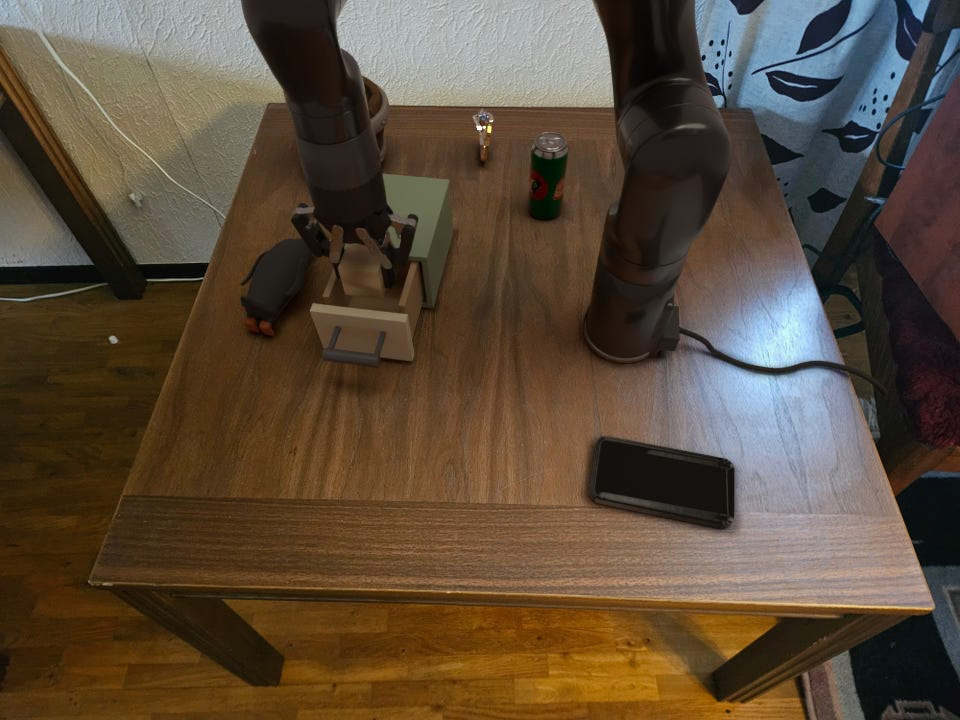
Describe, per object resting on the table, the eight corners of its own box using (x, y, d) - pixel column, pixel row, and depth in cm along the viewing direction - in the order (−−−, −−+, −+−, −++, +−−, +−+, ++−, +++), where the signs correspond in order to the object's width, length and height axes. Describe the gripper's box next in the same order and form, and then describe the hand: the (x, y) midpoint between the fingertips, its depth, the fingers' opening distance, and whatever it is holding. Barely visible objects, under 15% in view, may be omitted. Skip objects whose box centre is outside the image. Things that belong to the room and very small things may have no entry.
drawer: (404, 393, 76) (395, 355, 69) (312, 381, 77) (296, 343, 71) (434, 281, 86) (429, 238, 80) (353, 272, 87) (342, 230, 81)
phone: (734, 527, 65) (588, 497, 67) (731, 531, 66) (587, 501, 68) (734, 459, 70) (597, 433, 72) (731, 463, 71) (596, 437, 73)
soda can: (559, 223, 93) (567, 155, 84) (525, 219, 94) (529, 150, 84) (563, 200, 96) (571, 132, 86) (530, 196, 97) (534, 128, 87)
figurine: (293, 349, 84) (336, 257, 90) (265, 312, 75) (314, 213, 81) (244, 337, 85) (289, 247, 91) (210, 299, 76) (263, 202, 82)
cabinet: (433, 308, 84) (427, 257, 77) (342, 298, 86) (326, 247, 78) (453, 232, 93) (449, 179, 85) (369, 224, 94) (358, 171, 86)
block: (392, 270, 77) (387, 243, 73) (383, 299, 74) (377, 272, 71) (355, 266, 78) (348, 239, 74) (345, 295, 75) (337, 268, 71)
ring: (474, 144, 105) (473, 100, 98) (494, 144, 105) (494, 100, 98) (472, 171, 101) (471, 127, 94) (493, 171, 101) (492, 127, 94)
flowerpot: (291, 152, 104) (254, 30, 88) (377, 124, 108) (357, 2, 92) (322, 204, 97) (287, 81, 80) (413, 172, 101) (398, 49, 84)
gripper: (257, 180, 60) (301, 298, 74) (404, 194, 59) (420, 311, 73) (284, 132, 65) (321, 252, 79) (421, 144, 63) (433, 264, 77)
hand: (369, 280), depth 76 cm, fingers closed on block, 4 cm apart
